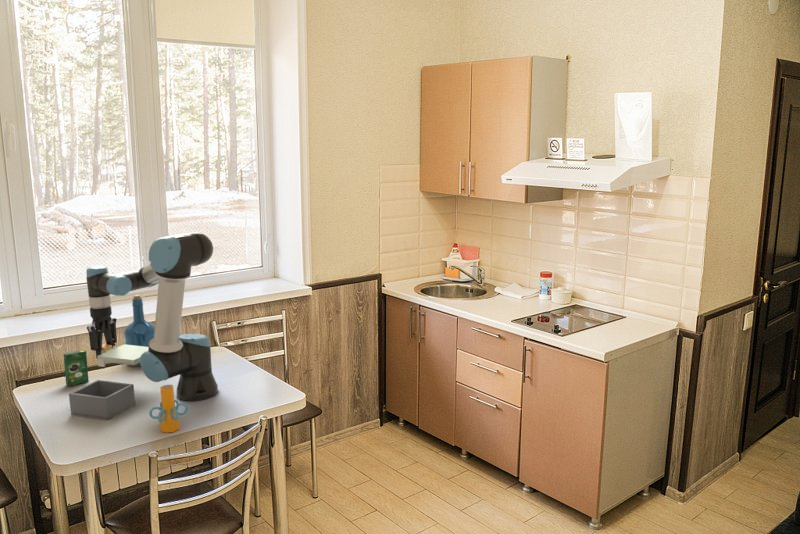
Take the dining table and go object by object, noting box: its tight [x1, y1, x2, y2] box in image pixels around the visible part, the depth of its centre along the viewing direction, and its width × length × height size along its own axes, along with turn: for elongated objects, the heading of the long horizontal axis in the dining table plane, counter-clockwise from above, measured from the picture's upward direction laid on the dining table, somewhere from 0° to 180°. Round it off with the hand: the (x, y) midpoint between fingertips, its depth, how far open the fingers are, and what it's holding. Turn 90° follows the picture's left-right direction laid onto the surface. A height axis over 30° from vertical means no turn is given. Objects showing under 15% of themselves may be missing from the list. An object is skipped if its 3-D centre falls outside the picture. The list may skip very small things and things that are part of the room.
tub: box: [68, 379, 136, 421], centre depth 239 cm, size 16×14×8 cm
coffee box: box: [63, 349, 90, 387], centre depth 265 cm, size 8×3×13 cm, turn 133°
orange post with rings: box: [149, 384, 189, 434], centre depth 222 cm, size 12×10×15 cm
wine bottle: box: [123, 294, 155, 365], centre depth 288 cm, size 14×13×30 cm
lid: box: [97, 343, 148, 366], centre depth 256 cm, size 22×15×4 cm
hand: (105, 364), depth 260 cm, fingers closed on lid, 4 cm apart
